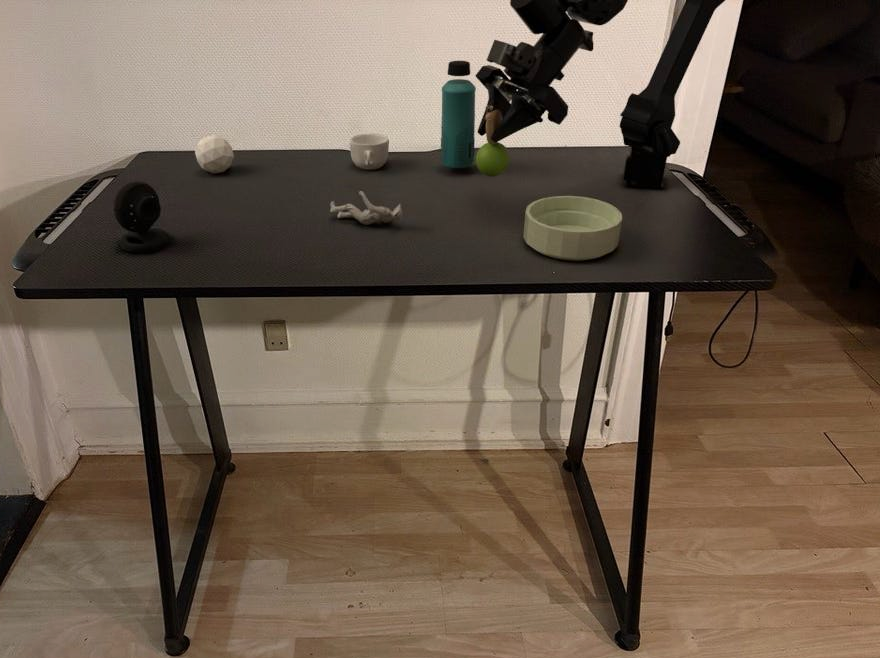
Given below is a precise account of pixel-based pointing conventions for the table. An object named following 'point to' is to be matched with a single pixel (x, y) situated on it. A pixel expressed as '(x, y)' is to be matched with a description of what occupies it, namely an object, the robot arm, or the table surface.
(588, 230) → the basin
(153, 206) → the webcam
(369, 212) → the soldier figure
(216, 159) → the ornament
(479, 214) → the table surface
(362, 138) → the teacup
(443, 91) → the beverage bottle
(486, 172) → the snail figurine
